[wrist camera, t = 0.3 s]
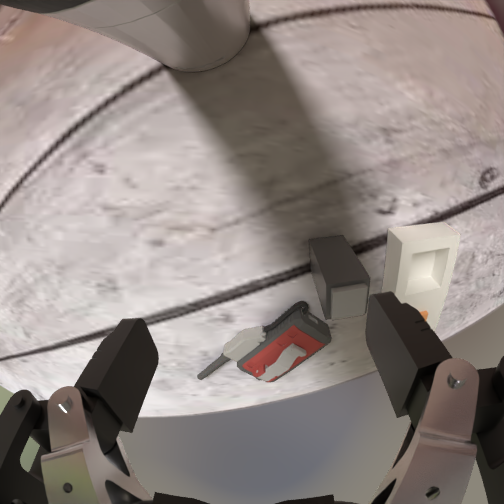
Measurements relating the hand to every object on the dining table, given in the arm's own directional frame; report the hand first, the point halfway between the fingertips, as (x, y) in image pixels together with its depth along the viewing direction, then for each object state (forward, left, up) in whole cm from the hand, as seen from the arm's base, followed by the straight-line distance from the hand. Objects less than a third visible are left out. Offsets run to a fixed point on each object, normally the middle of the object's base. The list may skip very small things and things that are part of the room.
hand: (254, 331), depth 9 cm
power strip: (+14, +17, -18) cm, 29 cm away
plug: (+7, +6, -18) cm, 20 cm away
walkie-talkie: (+21, -2, -18) cm, 28 cm away
